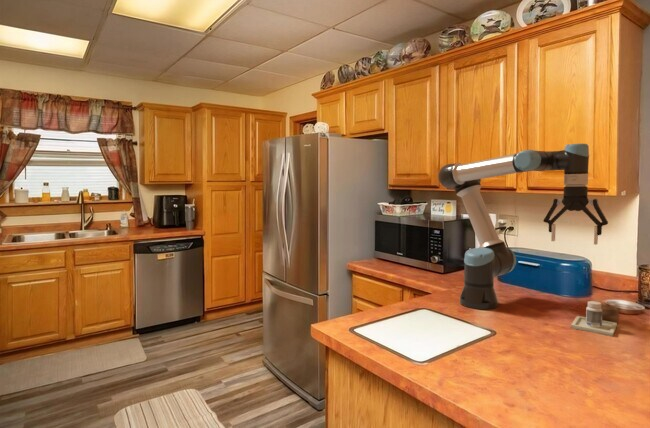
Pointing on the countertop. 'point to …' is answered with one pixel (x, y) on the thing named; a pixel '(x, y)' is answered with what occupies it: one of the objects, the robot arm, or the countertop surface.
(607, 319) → the walnut cube
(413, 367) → the countertop surface
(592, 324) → the pill bottle
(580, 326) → the tray
